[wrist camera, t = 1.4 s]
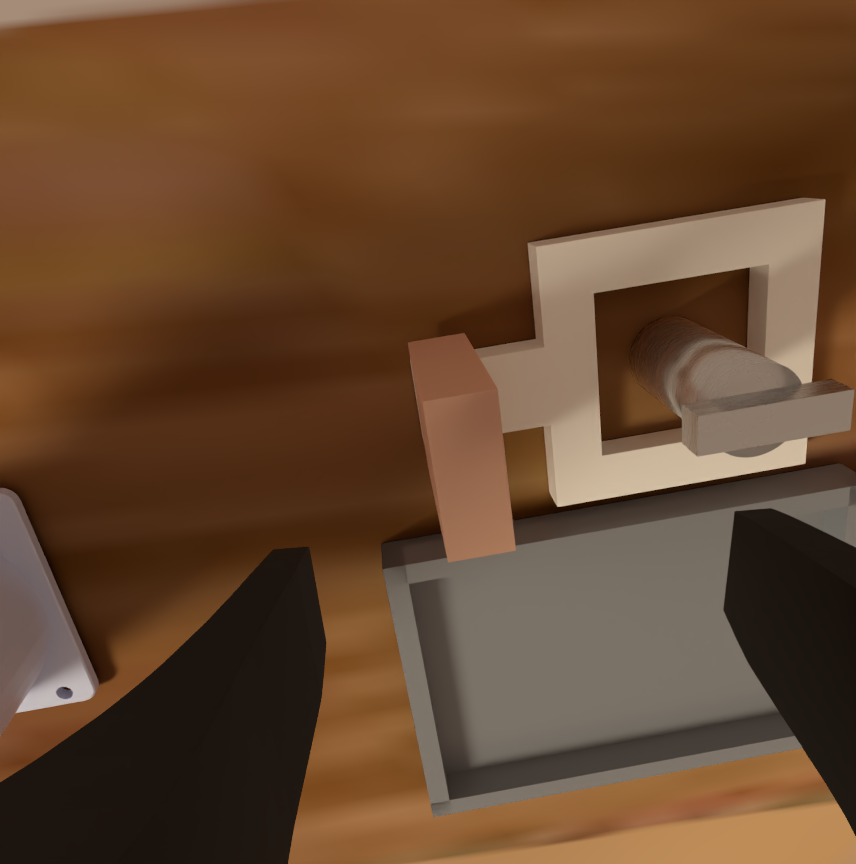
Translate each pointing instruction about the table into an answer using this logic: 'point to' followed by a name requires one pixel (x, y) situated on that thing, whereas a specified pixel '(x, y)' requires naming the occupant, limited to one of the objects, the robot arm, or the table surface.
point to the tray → (592, 643)
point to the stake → (732, 391)
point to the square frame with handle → (578, 373)
